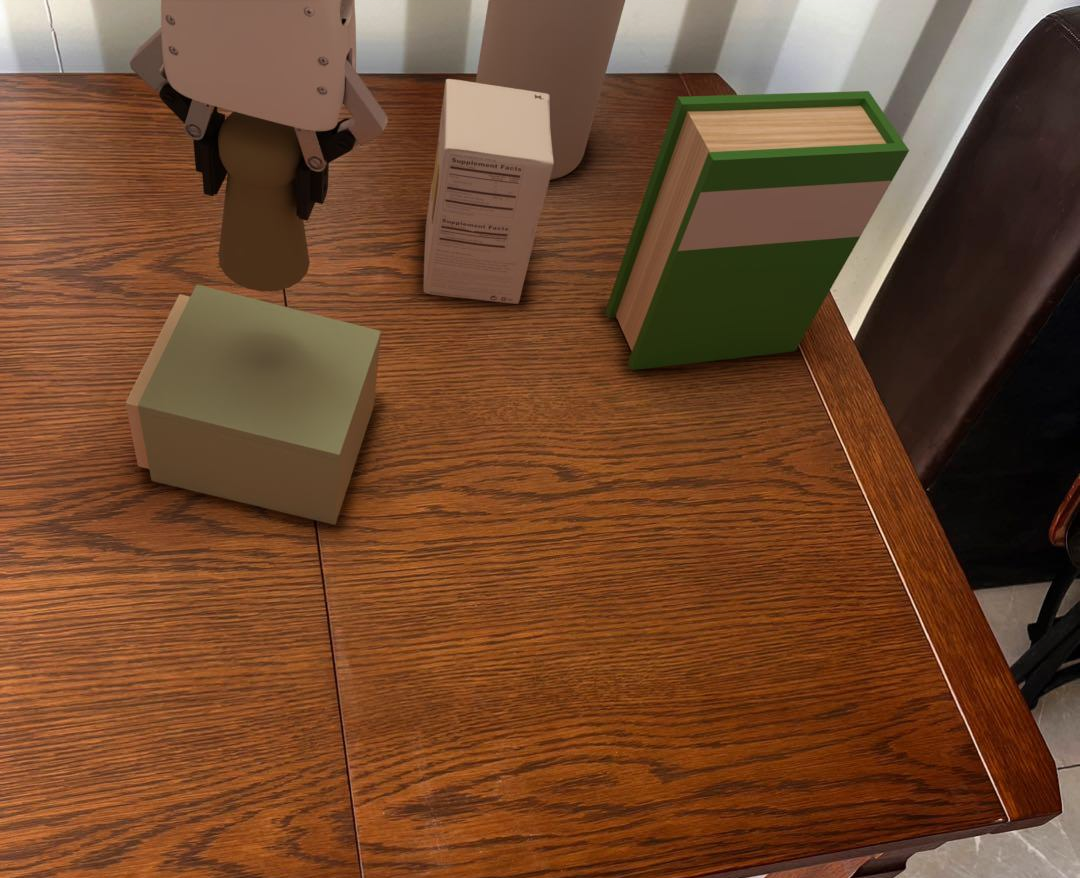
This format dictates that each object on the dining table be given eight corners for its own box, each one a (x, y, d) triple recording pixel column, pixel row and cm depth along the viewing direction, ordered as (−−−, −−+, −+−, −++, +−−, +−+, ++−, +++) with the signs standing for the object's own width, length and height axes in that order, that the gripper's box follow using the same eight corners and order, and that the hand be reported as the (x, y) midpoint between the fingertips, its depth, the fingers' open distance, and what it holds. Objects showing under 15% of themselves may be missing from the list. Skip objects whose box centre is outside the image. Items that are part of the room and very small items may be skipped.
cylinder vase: (481, 185, 111) (524, -56, 90) (456, 106, 117) (491, -137, 96) (596, 184, 114) (663, -49, 94) (566, 107, 120) (622, -127, 100)
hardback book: (630, 372, 101) (713, 160, 81) (604, 313, 104) (677, 96, 84) (794, 353, 106) (909, 150, 87) (764, 298, 110) (868, 91, 90)
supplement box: (424, 226, 106) (444, 73, 92) (517, 237, 108) (550, 89, 94) (422, 297, 101) (443, 147, 87) (520, 308, 102) (556, 162, 89)
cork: (271, 305, 72) (269, 171, 63) (199, 260, 73) (186, 121, 64) (327, 257, 75) (333, 123, 66) (257, 215, 76) (254, 77, 67)
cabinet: (151, 483, 85) (137, 405, 77) (204, 366, 92) (196, 283, 84) (335, 527, 86) (339, 454, 78) (373, 408, 93) (381, 330, 85)
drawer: (122, 462, 84) (108, 398, 78) (172, 357, 91) (163, 289, 84) (308, 507, 85) (310, 448, 79) (345, 400, 92) (350, 336, 85)
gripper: (438, -84, 57) (406, 191, 72) (113, -176, 56) (150, 123, 71) (407, -8, 53) (380, 267, 68) (54, -105, 52) (107, 197, 67)
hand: (262, 191), depth 69 cm, fingers closed on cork, 5 cm apart
